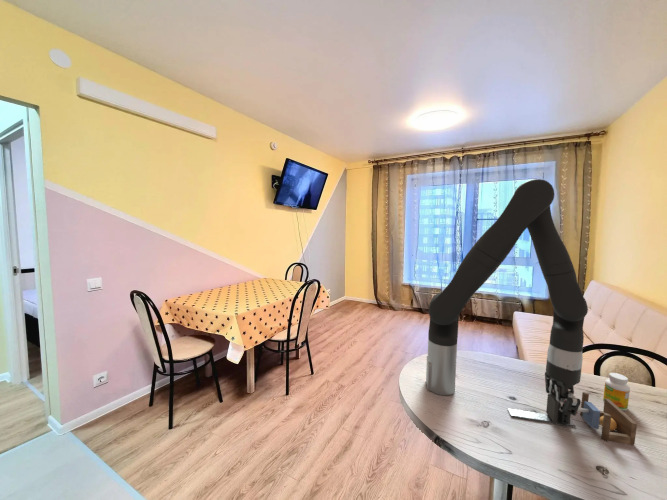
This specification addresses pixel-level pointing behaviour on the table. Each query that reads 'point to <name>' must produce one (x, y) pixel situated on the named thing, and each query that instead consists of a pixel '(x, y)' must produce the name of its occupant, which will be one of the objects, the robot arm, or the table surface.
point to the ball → (612, 425)
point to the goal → (624, 423)
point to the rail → (535, 417)
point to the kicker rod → (589, 410)
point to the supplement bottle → (617, 390)
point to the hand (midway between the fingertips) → (557, 417)
